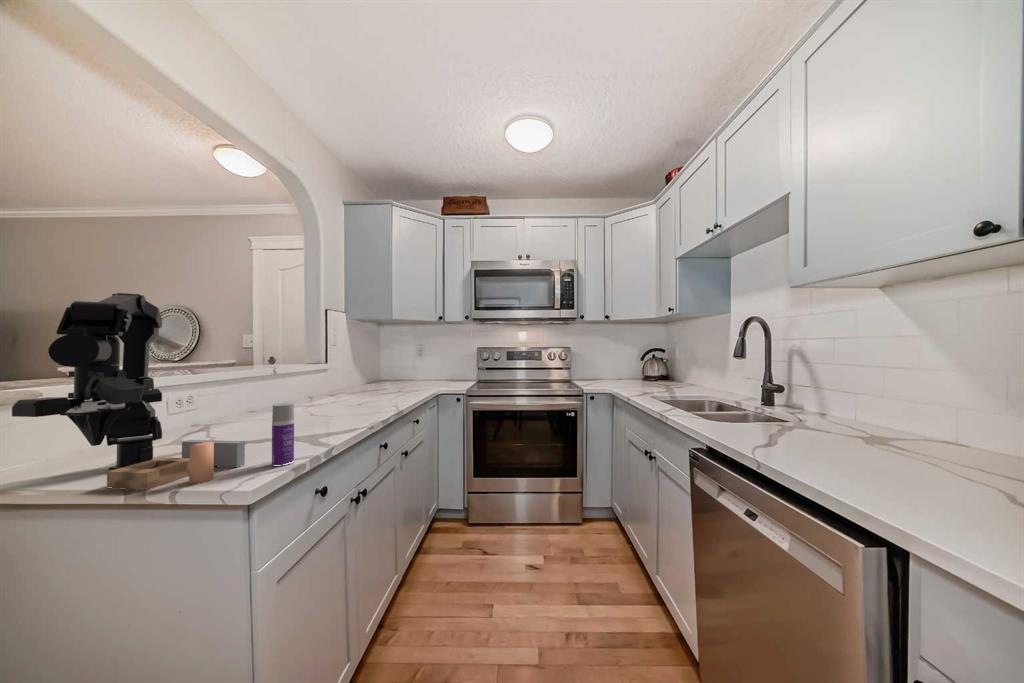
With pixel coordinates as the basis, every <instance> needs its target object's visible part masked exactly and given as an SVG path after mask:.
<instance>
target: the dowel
mask: <svg viewBox="0 0 1024 683" xmlns="http://www.w3.org/2000/svg"><path fill="white" fill-rule="evenodd" d="M214 470H215V467H214V442H204V443H198V444H193V445H191V446H190V464H189V476H188V477H189V478H188V480H189V481H188V482H189V483H190V485H199V484H198V483H200V484H205V483H209V482H210V481H213V480H214ZM204 482H205V483H204ZM189 483H188V484H189Z"/></svg>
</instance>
